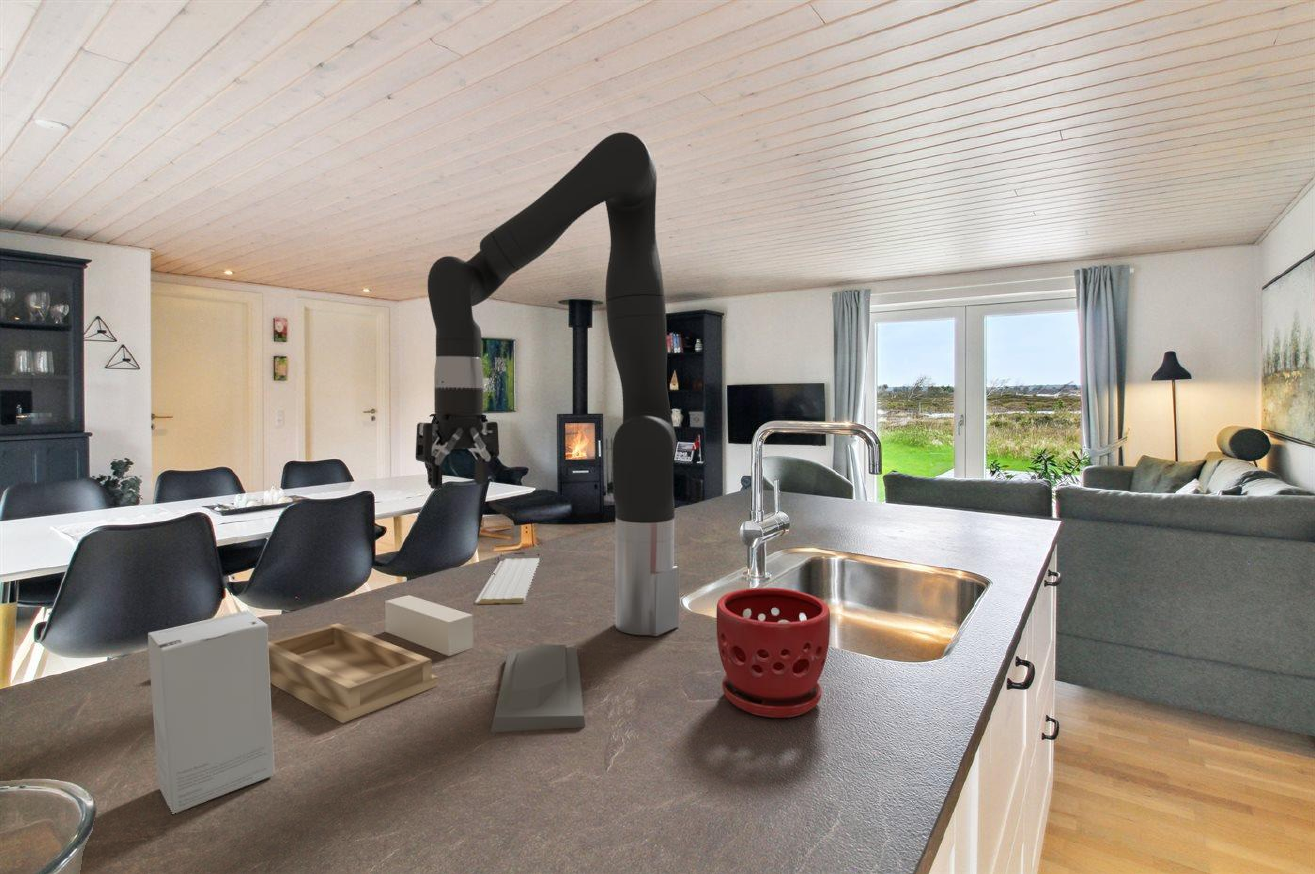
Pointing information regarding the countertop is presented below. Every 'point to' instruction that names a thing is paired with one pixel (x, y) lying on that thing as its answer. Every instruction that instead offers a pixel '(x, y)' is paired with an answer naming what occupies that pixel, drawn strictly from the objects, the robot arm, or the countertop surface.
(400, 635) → the white rectangular block
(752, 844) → the countertop surface
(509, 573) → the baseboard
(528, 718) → the soap mold
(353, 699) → the tray
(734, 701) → the plant pot
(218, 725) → the skincare box
